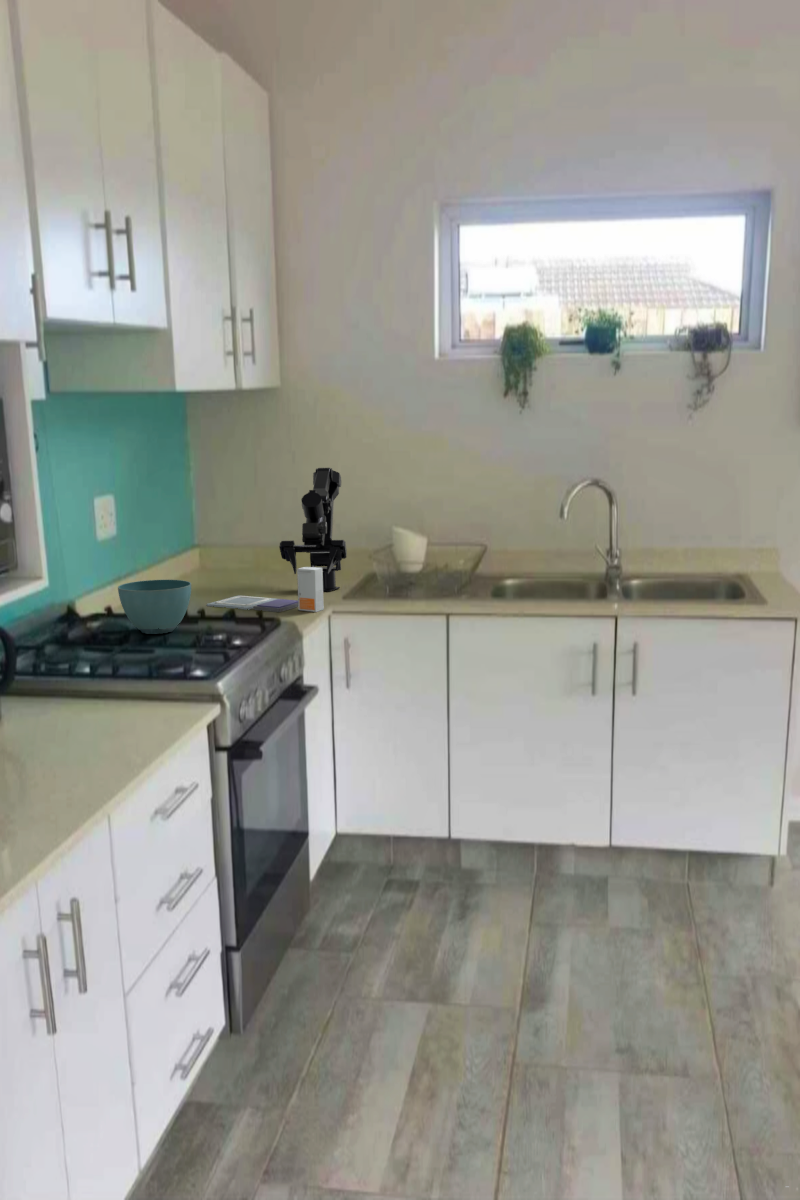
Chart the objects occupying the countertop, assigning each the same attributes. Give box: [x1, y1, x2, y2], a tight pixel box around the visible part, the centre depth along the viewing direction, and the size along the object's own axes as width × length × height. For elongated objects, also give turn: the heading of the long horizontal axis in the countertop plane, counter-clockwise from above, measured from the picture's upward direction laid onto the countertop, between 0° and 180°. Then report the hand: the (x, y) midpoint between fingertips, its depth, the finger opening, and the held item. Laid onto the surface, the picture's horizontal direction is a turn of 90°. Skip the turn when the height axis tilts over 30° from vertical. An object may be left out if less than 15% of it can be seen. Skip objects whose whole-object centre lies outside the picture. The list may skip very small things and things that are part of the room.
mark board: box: [206, 594, 278, 611], centre depth 303 cm, size 15×15×1 cm
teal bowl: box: [117, 579, 192, 629], centre depth 265 cm, size 18×18×12 cm
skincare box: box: [296, 566, 325, 613], centre depth 289 cm, size 6×4×12 cm
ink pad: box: [253, 598, 298, 613], centre depth 296 cm, size 12×9×1 cm
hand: (311, 573), depth 291 cm, fingers open, 9 cm apart
